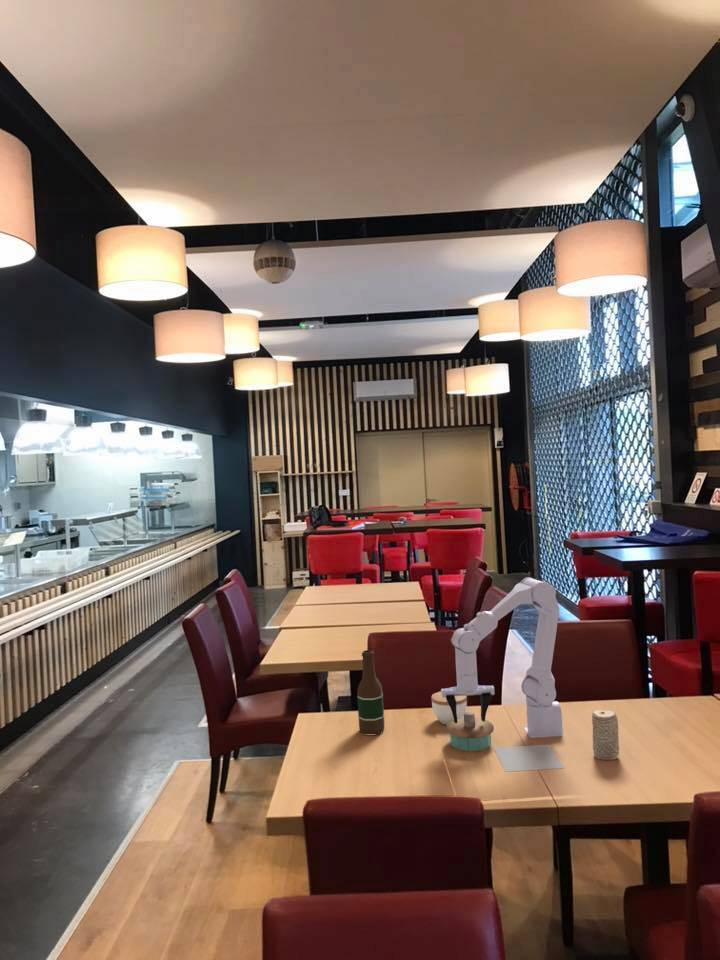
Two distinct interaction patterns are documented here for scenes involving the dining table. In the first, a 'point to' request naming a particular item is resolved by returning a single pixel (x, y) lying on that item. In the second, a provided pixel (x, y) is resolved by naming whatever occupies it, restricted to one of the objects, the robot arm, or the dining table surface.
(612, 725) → the carving
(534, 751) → the mat
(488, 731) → the lid
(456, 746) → the bowl
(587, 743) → the dining table surface
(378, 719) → the beer bottle
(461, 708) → the lidded jar
